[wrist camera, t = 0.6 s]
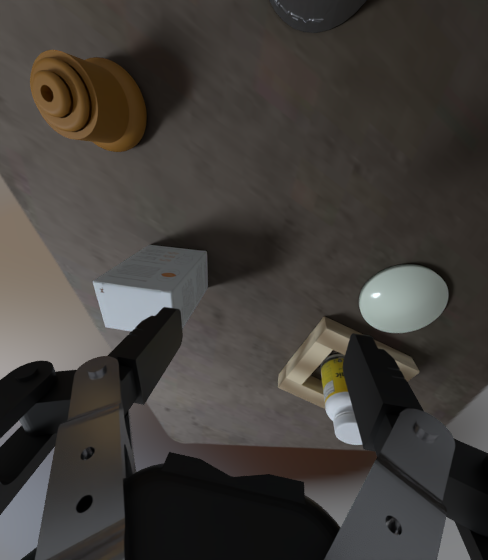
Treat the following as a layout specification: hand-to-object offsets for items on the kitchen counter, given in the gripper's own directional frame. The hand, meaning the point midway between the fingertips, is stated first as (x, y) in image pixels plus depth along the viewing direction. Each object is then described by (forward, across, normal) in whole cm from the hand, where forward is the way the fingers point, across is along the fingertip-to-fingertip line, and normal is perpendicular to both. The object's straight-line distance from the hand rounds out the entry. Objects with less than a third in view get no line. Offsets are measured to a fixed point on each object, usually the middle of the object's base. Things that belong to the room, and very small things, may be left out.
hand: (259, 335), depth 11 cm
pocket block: (+19, -11, +18) cm, 29 cm away
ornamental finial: (+18, +18, -12) cm, 28 cm away
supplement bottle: (+20, -11, +18) cm, 29 cm away
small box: (+19, +12, +5) cm, 23 cm away
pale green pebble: (+18, -15, +6) cm, 25 cm away
